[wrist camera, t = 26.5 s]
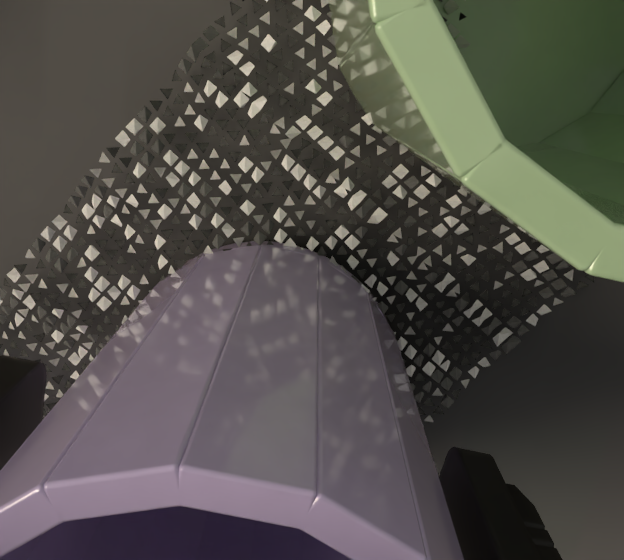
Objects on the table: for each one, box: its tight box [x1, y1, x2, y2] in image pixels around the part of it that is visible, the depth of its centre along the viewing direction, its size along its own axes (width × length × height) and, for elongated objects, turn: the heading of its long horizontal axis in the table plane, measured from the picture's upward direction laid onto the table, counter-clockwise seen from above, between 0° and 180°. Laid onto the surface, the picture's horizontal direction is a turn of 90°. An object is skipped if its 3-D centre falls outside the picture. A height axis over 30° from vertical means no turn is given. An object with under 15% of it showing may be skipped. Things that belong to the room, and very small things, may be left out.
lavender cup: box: [0, 241, 464, 560], centre depth 10 cm, size 6×6×8 cm
